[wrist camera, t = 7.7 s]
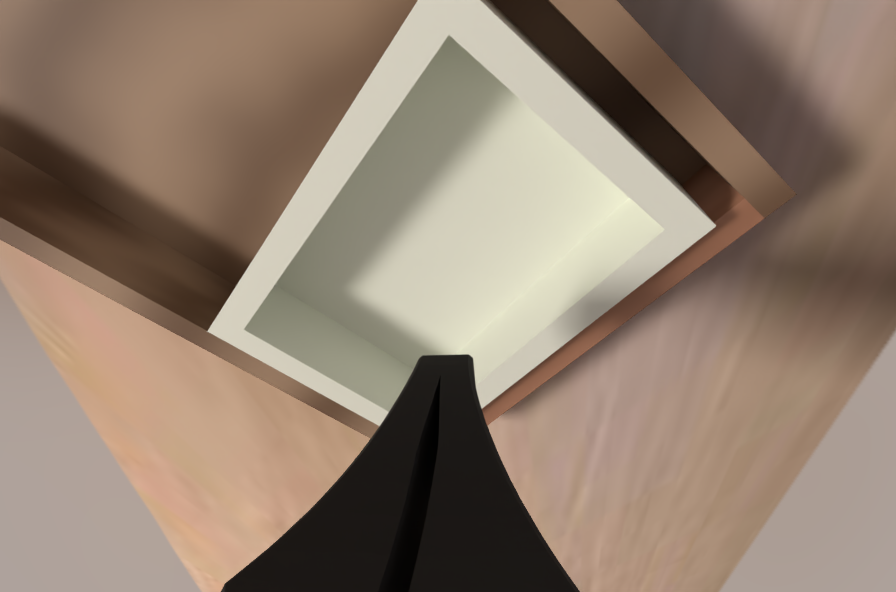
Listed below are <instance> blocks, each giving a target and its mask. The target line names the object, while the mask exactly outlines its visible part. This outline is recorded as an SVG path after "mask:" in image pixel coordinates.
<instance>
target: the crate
mask: <svg viewBox="0 0 896 592" xmlns="http://www.w3.org/2000/svg"><path fill="white" fill-rule="evenodd" d="M715 227H716V225H715V224H714V222H713V221H712V220H711V219H710V218H709V217H708V216H707V214H706V213H705V212H704V211H703V210H702V209H701V208H700V206H699V205H698V204H697V203H696V202H695V201H694V199H693V198H692V197H691V196H690V195H689V194H688V193H687V191H686V190H685V189H684V188H683V187H682V186H681V185H680V183H679V182H678V181H677V180H676V179H675V178H674V177H673V176H672V175H671V174H670V173H669V172H668V171H667V170H666V169H665V168H664V167H663V166H662V165H661V164H659V163H658V162H657V161H656V160H655V159H654V158H653V157H652V156H651V155H650V154H649V153H648V152H647V151H646V150H645V149H644V148H643V147H642V146H641V145H640V144H639V143H638V142H637V141H636V140H635V139H634V138H632V137H631V136H630V135H629V134H628V133H627V132H626V131H625V130H624V129H623V128H622V127H621V126H620V125H619V124H618V123H617V122H616V121H615V120H614V119H613V118H612V117H611V116H610V115H609V114H608V113H607V112H605V111H604V110H603V109H602V108H601V107H600V106H599V105H598V104H597V103H596V102H595V101H594V100H593V99H592V98H591V97H590V96H589V95H588V94H587V93H586V92H585V91H584V90H583V89H582V88H581V87H580V86H578V85H577V84H576V83H575V82H574V81H573V80H572V79H571V78H570V77H569V76H568V75H567V74H566V73H565V72H564V71H563V70H562V69H561V68H560V67H559V66H558V65H557V64H556V63H555V62H554V61H553V60H551V59H550V58H549V57H548V56H547V55H546V54H545V53H544V52H543V51H542V50H541V49H540V48H539V47H538V46H537V45H536V44H535V43H534V42H533V41H532V40H531V39H530V38H529V37H528V36H527V35H525V34H524V33H523V32H522V31H521V30H520V29H519V28H518V27H517V26H516V25H515V24H514V23H513V22H512V21H511V20H510V19H509V18H508V17H507V16H506V15H505V14H504V13H503V12H502V11H501V10H500V9H498V8H497V7H496V6H495V5H494V4H493V3H492V2H491V1H490V0H418V1H417V2H416V4H415V6H414V7H413V9H412V10H411V12H410V13H409V15H408V17H407V18H406V20H405V21H404V23H403V24H402V26H401V28H400V29H399V31H398V32H397V34H396V35H395V37H394V39H393V40H392V42H391V43H390V45H389V46H388V48H387V50H386V51H385V53H384V54H383V56H382V57H381V59H380V61H379V62H378V64H377V65H376V67H375V68H374V70H373V72H372V73H371V75H370V76H369V78H368V79H367V81H366V83H365V84H364V86H363V87H362V89H361V90H360V92H359V94H358V95H357V97H356V98H355V100H354V101H353V103H352V105H351V106H350V108H349V109H348V111H347V113H346V114H345V116H344V117H343V119H342V120H341V122H340V124H339V125H338V127H337V128H336V130H335V131H334V133H333V135H332V136H331V138H330V139H329V141H328V142H327V144H326V146H325V147H324V149H323V150H322V152H321V153H320V155H319V157H318V158H317V160H316V161H315V163H314V164H313V166H312V168H311V169H310V171H309V172H308V174H307V175H306V177H305V179H304V180H303V182H302V183H301V185H300V186H299V188H298V190H297V191H296V193H295V194H294V196H293V197H292V199H291V201H290V202H289V204H288V205H287V207H286V208H285V210H284V212H283V213H282V215H281V216H280V218H279V219H278V221H277V223H276V224H275V226H274V227H273V229H272V230H271V232H270V234H269V235H268V237H267V238H266V240H265V241H264V243H263V245H262V246H261V248H260V249H259V251H258V252H257V254H256V256H255V257H254V259H253V260H252V262H251V264H250V265H249V267H248V268H247V270H246V271H245V273H244V275H243V276H242V278H241V279H240V281H239V282H238V284H237V286H236V287H235V289H234V290H233V292H232V293H231V295H230V297H229V298H228V300H227V301H226V303H225V304H224V306H223V308H222V309H221V311H220V312H219V314H218V315H217V317H216V319H215V320H214V322H213V323H212V325H211V326H210V328H209V330H208V331H207V332H209V333H211V334H213V335H215V336H216V337H218V338H220V339H222V340H224V341H225V342H227V343H229V344H231V345H233V346H235V347H236V348H238V349H240V350H242V351H244V352H245V353H247V354H249V355H251V356H253V357H255V358H256V359H258V360H260V361H262V362H264V363H265V364H267V365H269V366H271V367H273V368H275V369H276V370H278V371H280V372H282V373H284V374H285V375H287V376H289V377H291V378H293V379H295V380H296V381H298V382H300V383H302V384H304V385H305V386H307V387H309V388H311V389H313V390H315V391H316V392H318V393H320V394H322V395H324V396H325V397H327V398H329V399H331V400H333V401H335V402H336V403H338V404H340V405H342V406H344V407H345V408H347V409H349V410H351V411H353V412H355V413H356V414H358V415H360V416H362V417H364V418H365V419H367V420H369V421H371V422H373V423H375V424H376V425H378V426H380V425H381V423H382V422H383V420H384V419H385V417H386V416H387V414H388V413H389V411H390V410H391V408H392V406H393V405H394V403H395V401H396V400H397V398H398V397H399V395H400V393H401V392H402V390H403V388H404V386H405V385H406V383H407V381H408V379H409V377H410V375H411V373H412V371H413V369H414V368H415V365H416V363H417V361H418V359H419V358H420V357H421V356H422V355H463V354H469V355H470V356H471V357H473V362H474V373H475V384H476V390H477V395H478V398H479V402H480V405H481V408H483V407H485V406H486V405H487V404H489V403H490V402H491V401H492V400H494V399H495V398H496V397H498V396H499V395H500V394H501V393H503V392H504V391H505V390H507V389H508V388H509V387H510V386H512V385H513V384H514V383H516V382H517V381H518V380H519V379H521V378H522V377H523V376H525V375H526V374H527V373H528V372H530V371H531V370H532V369H534V368H535V367H536V366H537V365H539V364H540V363H541V362H543V361H544V360H545V359H546V358H548V357H549V356H550V355H551V354H553V353H554V352H555V351H557V350H558V349H559V348H560V347H562V346H563V345H564V344H566V343H567V342H568V341H569V340H571V339H572V338H573V337H575V336H576V335H577V334H578V333H580V332H581V331H582V330H584V329H585V328H586V327H587V326H589V325H590V324H591V323H593V322H594V321H595V320H596V319H598V318H599V317H600V316H602V315H603V314H604V313H605V312H607V311H608V310H609V309H611V308H612V307H613V306H614V305H616V304H617V303H618V302H620V301H621V300H622V299H623V298H625V297H626V296H627V295H629V294H630V293H631V292H632V291H634V290H635V289H636V288H638V287H639V286H640V285H641V284H643V283H644V282H645V281H647V280H648V279H649V278H650V277H652V276H653V275H654V274H656V273H657V272H658V271H659V270H661V269H662V268H663V267H665V266H666V265H667V264H668V263H670V262H671V261H672V260H674V259H675V258H676V257H677V256H679V255H680V254H681V253H683V252H684V251H685V250H686V249H688V248H689V247H690V246H691V245H693V244H694V243H695V242H697V241H698V240H699V239H700V238H702V237H703V236H704V235H706V234H707V233H708V232H709V231H711V230H712V229H713V228H715Z"/></svg>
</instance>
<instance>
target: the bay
mask: <svg viewBox="0 0 896 592" xmlns="http://www.w3.org/2000/svg"><path fill="white" fill-rule="evenodd" d="M417 1H418V0H0V240H2V241H4V242H6V243H8V244H9V245H11V246H13V247H15V248H17V249H19V250H21V251H22V252H24V253H26V254H28V255H30V256H32V257H34V258H36V259H37V260H39V261H41V262H43V263H45V264H47V265H49V266H50V267H52V268H54V269H56V270H58V271H60V272H62V273H63V274H65V275H67V276H69V277H71V278H73V279H75V280H76V281H78V282H80V283H82V284H84V285H86V286H88V287H90V288H91V289H93V290H95V291H97V292H99V293H101V294H103V295H104V296H106V297H108V298H110V299H112V300H114V301H116V302H117V303H119V304H121V305H123V306H125V307H127V308H129V309H131V310H132V311H134V312H136V313H138V314H140V315H142V316H144V317H145V318H147V319H149V320H151V321H153V322H155V323H157V324H158V325H160V326H162V327H164V328H166V329H168V330H170V331H171V332H173V333H175V334H177V335H179V336H181V337H183V338H185V339H186V340H188V341H190V342H192V343H194V344H196V345H198V346H199V347H201V348H203V349H205V350H207V351H209V352H211V353H212V354H214V355H216V356H218V357H220V358H222V359H224V360H226V361H227V362H229V363H231V364H233V365H235V366H237V367H239V368H240V369H242V370H244V371H246V372H248V373H250V374H252V375H253V376H255V377H257V378H259V379H261V380H263V381H265V382H266V383H268V384H270V385H272V386H274V387H276V388H278V389H280V390H281V391H283V392H285V393H287V394H289V395H291V396H293V397H294V398H296V399H298V400H300V401H302V402H304V403H306V404H307V405H309V406H311V407H313V408H315V409H317V410H319V411H321V412H322V413H324V414H326V415H328V416H330V417H332V418H334V419H335V420H337V421H339V422H341V423H343V424H345V425H347V426H348V427H350V428H352V429H354V430H356V431H358V432H360V433H361V434H363V435H365V436H367V437H369V438H372V436H373V435H374V433H375V432H376V430H377V429H378V428H379V426H378V425H376V424H375V423H373V422H371V421H369V420H367V419H365V418H364V417H362V416H360V415H358V414H356V413H355V412H353V411H351V410H349V409H347V408H345V407H344V406H342V405H340V404H338V403H336V402H335V401H333V400H331V399H329V398H327V397H325V396H324V395H322V394H320V393H318V392H316V391H315V390H313V389H311V388H309V387H307V386H305V385H304V384H302V383H300V382H298V381H296V380H295V379H293V378H291V377H289V376H287V375H285V374H284V373H282V372H280V371H278V370H276V369H275V368H273V367H271V366H269V365H267V364H265V363H264V362H262V361H260V360H258V359H256V358H255V357H253V356H251V355H249V354H247V353H245V352H244V351H242V350H240V349H238V348H236V347H235V346H233V345H231V344H229V343H227V342H225V341H224V340H222V339H220V338H218V337H216V336H215V335H213V334H211V333H209V332H207V331H208V330H209V328H210V326H211V325H212V323H213V322H214V320H215V319H216V317H217V315H218V314H219V312H220V311H221V309H222V308H223V306H224V304H225V303H226V301H227V300H228V298H229V297H230V295H231V293H232V292H233V290H234V289H235V287H236V286H237V284H238V282H239V281H240V279H241V278H242V276H243V275H244V273H245V271H246V270H247V268H248V267H249V265H250V264H251V262H252V260H253V259H254V257H255V256H256V254H257V252H258V251H259V249H260V248H261V246H262V245H263V243H264V241H265V240H266V238H267V237H268V235H269V234H270V232H271V230H272V229H273V227H274V226H275V224H276V223H277V221H278V219H279V218H280V216H281V215H282V213H283V212H284V210H285V208H286V207H287V205H288V204H289V202H290V201H291V199H292V197H293V196H294V194H295V193H296V191H297V190H298V188H299V186H300V185H301V183H302V182H303V180H304V179H305V177H306V175H307V174H308V172H309V171H310V169H311V168H312V166H313V164H314V163H315V161H316V160H317V158H318V157H319V155H320V153H321V152H322V150H323V149H324V147H325V146H326V144H327V142H328V141H329V139H330V138H331V136H332V135H333V133H334V131H335V130H336V128H337V127H338V125H339V124H340V122H341V120H342V119H343V117H344V116H345V114H346V113H347V111H348V109H349V108H350V106H351V105H352V103H353V101H354V100H355V98H356V97H357V95H358V94H359V92H360V90H361V89H362V87H363V86H364V84H365V83H366V81H367V79H368V78H369V76H370V75H371V73H372V72H373V70H374V68H375V67H376V65H377V64H378V62H379V61H380V59H381V57H382V56H383V54H384V53H385V51H386V50H387V48H388V46H389V45H390V43H391V42H392V40H393V39H394V37H395V35H396V34H397V32H398V31H399V29H400V28H401V26H402V24H403V23H404V21H405V20H406V18H407V17H408V15H409V13H410V12H411V10H412V9H413V7H414V6H415V4H416V2H417ZM490 1H491V2H492V3H493V4H494V5H495V6H496V7H497V8H498V9H500V10H501V11H502V12H503V13H504V14H505V15H506V16H507V17H508V18H509V19H510V20H511V21H512V22H513V23H514V24H515V25H516V26H517V27H518V28H519V29H520V30H521V31H522V32H523V33H524V34H525V35H527V36H528V37H529V38H530V39H531V40H532V41H533V42H534V43H535V44H536V45H537V46H538V47H539V48H540V49H541V50H542V51H543V52H544V53H545V54H546V55H547V56H548V57H549V58H550V59H551V60H553V61H554V62H555V63H556V64H557V65H558V66H559V67H560V68H561V69H562V70H563V71H564V72H565V73H566V74H567V75H568V76H569V77H570V78H571V79H572V80H573V81H574V82H575V83H576V84H577V85H578V86H580V87H581V88H582V89H583V90H584V91H585V92H586V93H587V94H588V95H589V96H590V97H591V98H592V99H593V100H594V101H595V102H596V103H597V104H598V105H599V106H600V107H601V108H602V109H603V110H604V111H605V112H607V113H608V114H609V115H610V116H611V117H612V118H613V119H614V120H615V121H616V122H617V123H618V124H619V125H620V126H621V127H622V128H623V129H624V130H625V131H626V132H627V133H628V134H629V135H630V136H631V137H632V138H634V139H635V140H636V141H637V142H638V143H639V144H640V145H641V146H642V147H643V148H644V149H645V150H646V151H647V152H648V153H649V154H650V155H651V156H652V157H653V158H654V159H655V160H656V161H657V162H658V163H659V164H661V165H662V166H663V167H664V168H665V169H666V170H667V171H668V172H669V173H670V174H671V175H672V176H673V177H674V178H675V179H676V180H677V181H678V182H679V183H680V185H681V186H682V187H683V188H684V189H685V190H686V191H687V193H688V194H689V195H690V196H691V197H692V198H693V199H694V201H695V202H696V203H697V204H698V205H699V206H700V208H701V209H702V210H703V211H704V212H705V213H706V214H707V216H708V217H709V218H710V219H711V220H712V221H713V222H714V224H715V225H716V227H715V228H713V229H712V230H711V231H709V232H708V233H707V234H706V235H704V236H703V237H702V238H700V239H699V240H698V241H697V242H695V243H694V244H693V245H691V246H690V247H689V248H688V249H686V250H685V251H684V252H683V253H681V254H680V255H679V256H677V257H676V258H675V259H674V260H672V261H671V262H670V263H668V264H667V265H666V266H665V267H663V268H662V269H661V270H659V271H658V272H657V273H656V274H654V275H653V276H652V277H650V278H649V279H648V280H647V281H645V282H644V283H643V284H641V285H640V286H639V287H638V288H636V289H635V290H634V291H632V292H631V293H630V294H629V295H627V296H626V297H625V298H623V299H622V300H621V301H620V302H618V303H617V304H616V305H614V306H613V307H612V308H611V309H609V310H608V311H607V312H605V313H604V314H603V315H602V316H600V317H599V318H598V319H596V320H595V321H594V322H593V323H591V324H590V325H589V326H587V327H586V328H585V329H584V330H582V331H581V332H580V333H578V334H577V335H576V336H575V337H573V338H572V339H571V340H569V341H568V342H567V343H566V344H564V345H563V346H562V347H560V348H559V349H558V350H557V351H555V352H554V353H553V354H551V355H550V356H549V357H548V358H546V359H545V360H544V361H543V362H541V363H540V364H539V365H537V366H536V367H535V368H534V369H532V370H531V371H530V372H528V373H527V374H526V375H525V376H523V377H522V378H521V379H519V380H518V381H517V382H516V383H514V384H513V385H512V386H510V387H509V388H508V389H507V390H505V391H504V392H503V393H501V394H500V395H499V396H498V397H496V398H495V399H494V400H492V401H491V402H490V403H489V404H487V405H486V406H485V407H483V408H482V411H483V415H484V418H485V421H486V424H487V425H488V424H490V423H491V422H492V421H494V420H495V419H496V418H498V417H499V416H500V415H502V414H503V413H504V412H506V411H507V410H508V409H510V408H511V407H512V406H514V405H515V404H516V403H518V402H519V401H520V400H522V399H523V398H525V397H526V396H527V395H529V394H530V393H531V392H533V391H534V390H535V389H537V388H538V387H539V386H541V385H542V384H543V383H545V382H546V381H547V380H549V379H550V378H551V377H553V376H554V375H555V374H557V373H558V372H559V371H561V370H562V369H563V368H565V367H566V366H567V365H569V364H570V363H571V362H573V361H574V360H575V359H577V358H578V357H579V356H581V355H582V354H583V353H585V352H586V351H587V350H589V349H590V348H592V347H593V346H594V345H596V344H597V343H598V342H600V341H601V340H602V339H604V338H605V337H606V336H608V335H609V334H610V333H612V332H613V331H614V330H616V329H617V328H618V327H620V326H621V325H622V324H624V323H625V322H626V321H628V320H629V319H630V318H632V317H633V316H634V315H636V314H637V313H638V312H640V311H641V310H642V309H644V308H645V307H646V306H648V305H649V304H650V303H652V302H653V301H654V300H656V299H657V298H658V297H660V296H661V295H663V294H664V293H665V292H667V291H668V290H669V289H671V288H672V287H673V286H675V285H676V284H677V283H679V282H680V281H681V280H683V279H684V278H685V277H687V276H688V275H689V274H691V273H692V272H693V271H695V270H696V269H697V268H699V267H700V266H701V265H703V264H704V263H705V262H707V261H708V260H709V259H711V258H712V257H713V256H715V255H716V254H717V253H719V252H720V251H721V250H723V249H724V248H725V247H727V246H728V245H730V244H731V243H732V242H734V241H735V240H736V239H738V238H739V237H740V236H742V235H743V234H744V233H746V232H747V231H748V230H750V229H751V228H752V227H754V226H755V225H756V224H758V223H759V222H760V221H762V220H763V219H764V218H766V217H767V216H768V215H770V214H771V213H772V212H774V211H775V210H776V209H778V208H779V207H780V206H782V205H783V204H784V203H786V202H787V201H788V200H790V199H791V198H792V197H794V196H795V195H796V193H795V192H794V191H793V190H792V189H791V188H790V187H789V186H788V184H787V183H786V182H785V181H784V180H783V179H782V178H781V177H780V176H779V175H778V174H777V173H776V172H775V170H774V169H773V168H772V167H771V166H770V165H769V164H768V163H767V162H766V161H765V160H764V159H763V157H762V156H761V155H760V154H759V153H758V152H757V151H756V150H755V149H754V148H753V147H752V146H751V145H750V143H749V142H748V141H747V140H746V139H745V138H744V137H743V136H742V135H741V134H740V133H739V132H738V131H737V129H736V128H735V127H734V126H733V125H732V124H731V123H730V122H729V121H728V120H727V119H726V118H725V116H724V115H723V114H722V113H721V112H720V111H719V110H718V109H717V108H716V107H715V106H714V105H713V104H712V102H711V101H710V100H709V99H708V98H707V97H706V96H705V95H704V94H703V93H702V92H701V91H700V90H699V88H698V87H697V86H696V85H695V84H694V83H693V82H692V81H691V80H690V79H689V78H688V77H687V75H686V74H685V73H684V72H683V71H682V70H681V69H680V68H679V67H678V66H677V65H676V64H675V63H674V61H673V60H672V59H671V58H670V57H669V56H668V55H667V54H666V53H665V52H664V51H663V50H662V49H661V47H660V46H659V45H658V44H657V43H656V42H655V41H654V40H653V39H652V38H651V37H650V36H649V34H648V33H647V32H646V31H645V30H644V29H643V28H642V27H641V26H640V25H639V24H638V23H637V22H636V20H635V19H634V18H633V17H632V16H631V15H630V14H629V13H628V12H627V11H626V10H625V9H624V8H623V6H622V5H621V4H620V3H619V2H618V1H617V0H490Z"/></svg>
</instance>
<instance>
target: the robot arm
mask: <svg viewBox="0 0 896 592" xmlns="http://www.w3.org/2000/svg"><path fill="white" fill-rule="evenodd" d="M221 592H580V591H579V590H578V588H577V587H576V586H575V584H574V583H573V581H572V580H571V579H570V577H569V576H568V574H567V573H566V571H565V570H564V569H563V567H562V566H561V564H560V563H559V561H558V560H557V558H556V557H555V555H554V554H553V552H552V551H551V549H550V548H549V546H548V544H547V543H546V541H545V540H544V538H543V537H542V535H541V533H540V532H539V530H538V528H537V527H536V525H535V523H534V521H533V520H532V518H531V516H530V515H529V513H528V511H527V509H526V508H525V506H524V504H523V503H522V501H521V499H520V497H519V495H518V493H517V491H516V489H515V488H514V486H513V484H512V482H511V480H510V478H509V476H508V474H507V471H506V469H505V467H504V465H503V463H502V461H501V459H500V456H499V454H498V452H497V449H496V447H495V445H494V442H493V440H492V437H491V435H490V432H489V429H488V426H487V424H486V421H485V418H484V415H483V411H482V408H481V405H480V402H479V398H478V395H477V390H476V384H475V373H474V362H473V357H471V356H470V355H469V354H463V355H422V356H421V357H420V358H419V359H418V361H417V363H416V365H415V368H414V369H413V371H412V373H411V375H410V377H409V379H408V381H407V383H406V385H405V386H404V388H403V390H402V392H401V393H400V395H399V397H398V398H397V400H396V401H395V403H394V405H393V406H392V408H391V410H390V411H389V413H388V414H387V416H386V417H385V419H384V420H383V422H382V423H381V425H380V426H379V428H378V429H377V430H376V432H375V433H374V435H373V436H372V438H371V439H370V440H369V442H368V443H367V445H366V446H365V447H364V449H363V450H362V451H361V453H360V454H359V455H358V456H357V458H356V459H355V460H354V461H353V463H352V464H351V465H350V466H349V467H348V469H347V470H346V471H345V472H344V473H343V475H342V476H341V477H340V478H339V479H338V480H337V481H336V482H335V484H334V485H333V486H332V487H331V488H330V489H329V490H328V491H327V492H326V493H325V495H324V496H323V497H322V498H321V499H320V500H319V501H318V502H317V503H316V504H315V505H314V506H313V507H312V508H311V509H310V510H309V511H308V512H307V513H306V514H305V515H304V516H303V517H302V518H301V519H300V520H299V521H298V522H296V523H295V524H294V525H293V526H292V527H291V528H290V529H289V530H288V531H287V532H286V533H285V534H284V535H283V536H282V537H280V538H279V539H278V540H277V541H276V542H275V543H274V544H273V545H272V546H270V547H269V548H268V549H267V550H266V551H264V552H263V553H262V554H261V555H260V556H258V557H257V558H256V559H255V560H254V561H252V562H251V563H250V564H249V565H247V566H246V567H245V568H244V569H243V570H241V571H240V572H239V573H238V574H236V575H235V576H234V577H233V578H231V579H230V580H229V581H228V582H226V583H225V585H224V587H223V589H222V591H221Z"/></svg>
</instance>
